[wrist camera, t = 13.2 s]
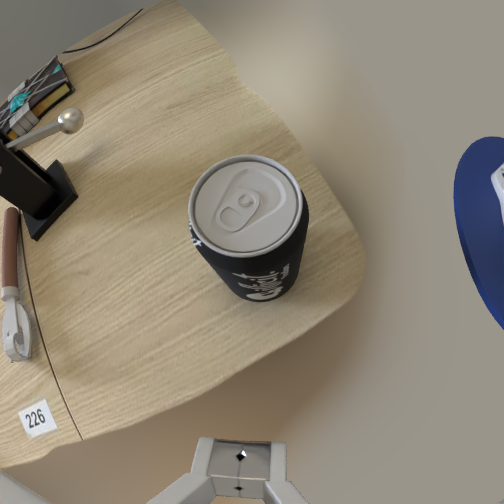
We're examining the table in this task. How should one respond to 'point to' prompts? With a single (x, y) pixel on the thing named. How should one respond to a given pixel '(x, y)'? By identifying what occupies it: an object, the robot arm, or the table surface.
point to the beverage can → (250, 225)
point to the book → (34, 99)
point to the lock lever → (50, 129)
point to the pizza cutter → (13, 294)
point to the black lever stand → (34, 188)
